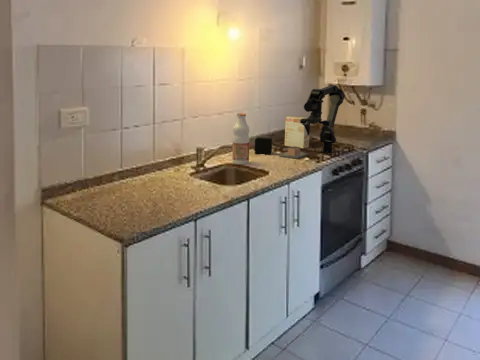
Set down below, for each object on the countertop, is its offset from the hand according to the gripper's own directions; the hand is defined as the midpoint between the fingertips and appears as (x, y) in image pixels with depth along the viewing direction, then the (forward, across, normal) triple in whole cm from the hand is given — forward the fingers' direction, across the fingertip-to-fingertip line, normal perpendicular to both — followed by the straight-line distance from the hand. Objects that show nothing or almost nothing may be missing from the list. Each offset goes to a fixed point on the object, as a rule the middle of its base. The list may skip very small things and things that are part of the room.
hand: (315, 136), depth 321 cm
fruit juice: (+12, -26, -44) cm, 52 cm away
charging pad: (+12, -10, -8) cm, 18 cm away
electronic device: (+12, -28, -14) cm, 34 cm away
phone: (+11, -10, -8) cm, 17 cm away
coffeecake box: (+12, -22, +21) cm, 33 cm away
